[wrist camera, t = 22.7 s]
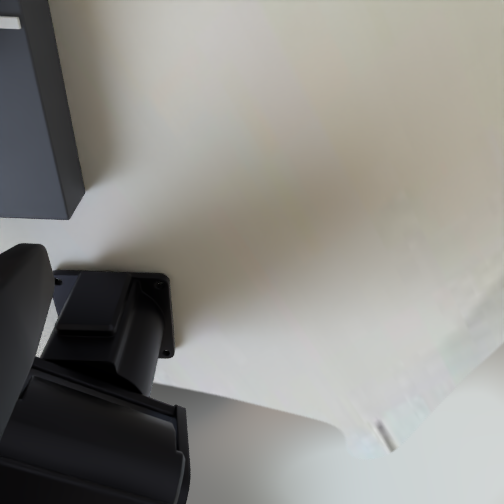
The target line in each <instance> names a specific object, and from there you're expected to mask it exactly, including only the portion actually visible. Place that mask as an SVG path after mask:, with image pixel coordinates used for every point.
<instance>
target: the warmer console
mask: <svg viewBox="0 0 504 504" xmlns="http://www.w3.org/2000/svg"><path fill="white" fill-rule="evenodd" d="M84 194H85V189H84V184H83V178H82V173H81V168H80V163H79V158H78V153H77V148H76V143H75V137H74V132H73V127H72V122H71V117H70V112H69V107H68V102H67V96H66V91H65V86H64V81H63V76H62V71H61V66H60V61H59V55H58V50H57V45H56V40H55V35H54V30H53V25H52V20H51V14H50V9H49V4H48V0H0V217H3V218H30V219H57V220H69V219H70V218H71V216H72V214H73V213H74V211H75V209H76V208H77V206H78V204H79V202H80V201H81V199H82V197H83V196H84Z"/></svg>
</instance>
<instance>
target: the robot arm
mask: <svg viewBox="0 0 504 504" xmlns="http://www.w3.org/2000/svg"><path fill="white" fill-rule="evenodd" d="M56 278H58V279H60V280H62V281H60V280H58V279H56ZM157 282H162V283H163V284H158V283H157ZM52 297H53V300H54V303H55V307H56V310H57V314H58V319H57V321H56V323H55V327H54V329H53V331H52V333H51V335H50V338H49V340H48V342H47V344H46V346H45V348H44V350H43V352H42V354H41V357H40V358H39V357H36V356H35V355H36V352H37V349H38V345H39V342H40V338H41V335H42V331H43V328H44V324H45V321H46V317H47V314H48V310H49V307H50V304H51V300H52ZM165 350H167V351H165ZM174 352H175V340H174V328H173V315H172V303H171V291H170V280H169V278H168V277H167V276H166V275H164V274H160V273H131V272H102V271H74V270H55V271H53V272H52V268H51V264H50V261H49V257H48V253H47V250H46V248H45V247H44V246H43V245H41V244H28V243H21V244H18V245H16V246H14V247H12V248H10V249H9V250H7V251H5V252H3V253H1V254H0V504H186V501H187V496H188V491H189V485H190V458H189V445H188V433H187V419H186V409H185V408H183V407H181V406H178V405H174V406H172V405H169V404H166V403H164V402H161V401H158V400H156V399H153V398H150V394H151V389H152V384H153V380H154V375H155V370H156V365H157V361H158V358H171V357H173V356H174Z"/></svg>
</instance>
